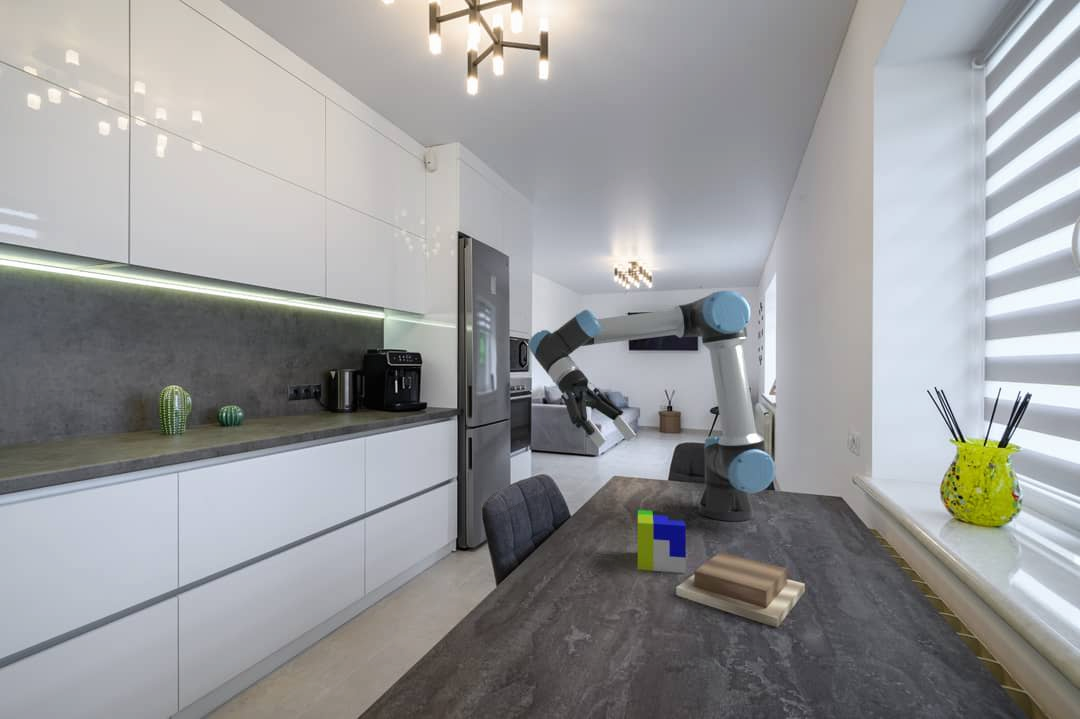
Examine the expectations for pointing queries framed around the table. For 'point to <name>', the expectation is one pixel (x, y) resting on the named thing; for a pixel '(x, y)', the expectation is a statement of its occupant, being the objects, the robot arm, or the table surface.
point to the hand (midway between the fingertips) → (617, 441)
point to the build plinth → (745, 607)
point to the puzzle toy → (661, 541)
